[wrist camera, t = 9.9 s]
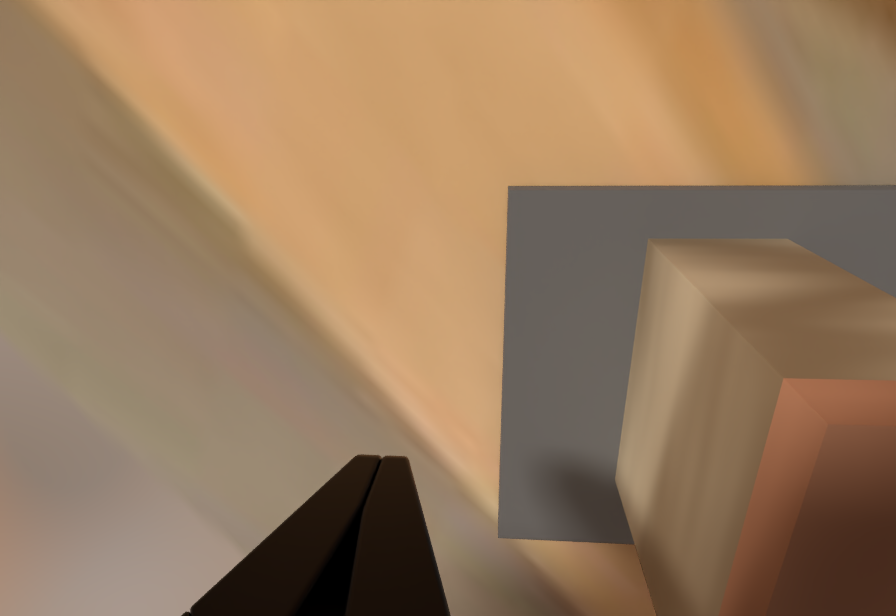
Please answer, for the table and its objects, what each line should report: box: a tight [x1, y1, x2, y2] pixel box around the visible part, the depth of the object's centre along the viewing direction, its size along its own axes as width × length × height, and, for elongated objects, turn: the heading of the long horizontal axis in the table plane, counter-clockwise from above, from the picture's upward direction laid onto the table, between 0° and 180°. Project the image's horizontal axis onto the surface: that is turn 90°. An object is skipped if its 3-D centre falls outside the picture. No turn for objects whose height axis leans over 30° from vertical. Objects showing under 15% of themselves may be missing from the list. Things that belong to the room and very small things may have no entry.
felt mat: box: [498, 185, 896, 544], centre depth 12 cm, size 12×9×1 cm
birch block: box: [615, 239, 896, 616], centre depth 9 cm, size 3×6×6 cm, turn 1°
